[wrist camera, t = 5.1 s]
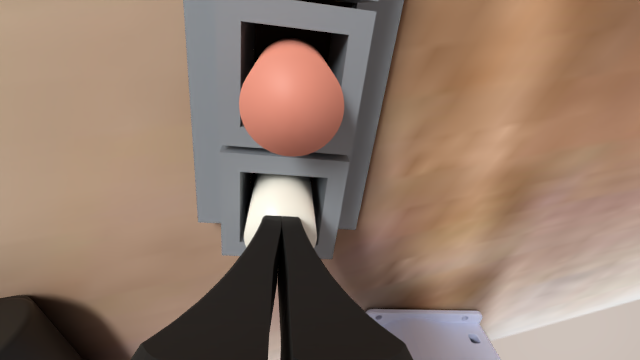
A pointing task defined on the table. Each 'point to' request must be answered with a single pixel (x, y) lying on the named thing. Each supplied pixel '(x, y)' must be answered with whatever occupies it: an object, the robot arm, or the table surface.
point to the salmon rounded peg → (291, 99)
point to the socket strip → (235, 142)
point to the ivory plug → (281, 202)
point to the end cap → (30, 333)
